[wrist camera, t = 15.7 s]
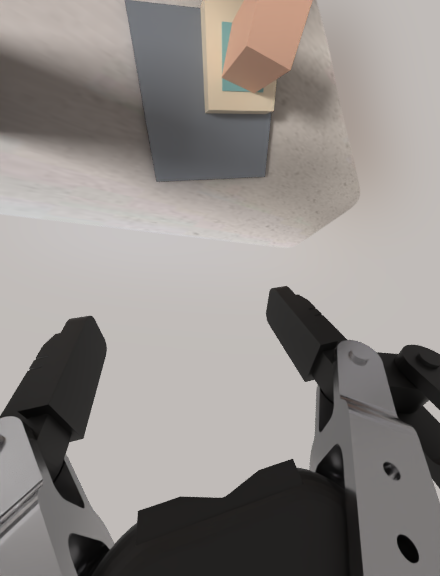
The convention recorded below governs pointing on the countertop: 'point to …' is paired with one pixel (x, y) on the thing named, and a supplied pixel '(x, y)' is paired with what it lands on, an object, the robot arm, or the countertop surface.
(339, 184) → the countertop surface
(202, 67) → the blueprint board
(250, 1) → the terracotta block
